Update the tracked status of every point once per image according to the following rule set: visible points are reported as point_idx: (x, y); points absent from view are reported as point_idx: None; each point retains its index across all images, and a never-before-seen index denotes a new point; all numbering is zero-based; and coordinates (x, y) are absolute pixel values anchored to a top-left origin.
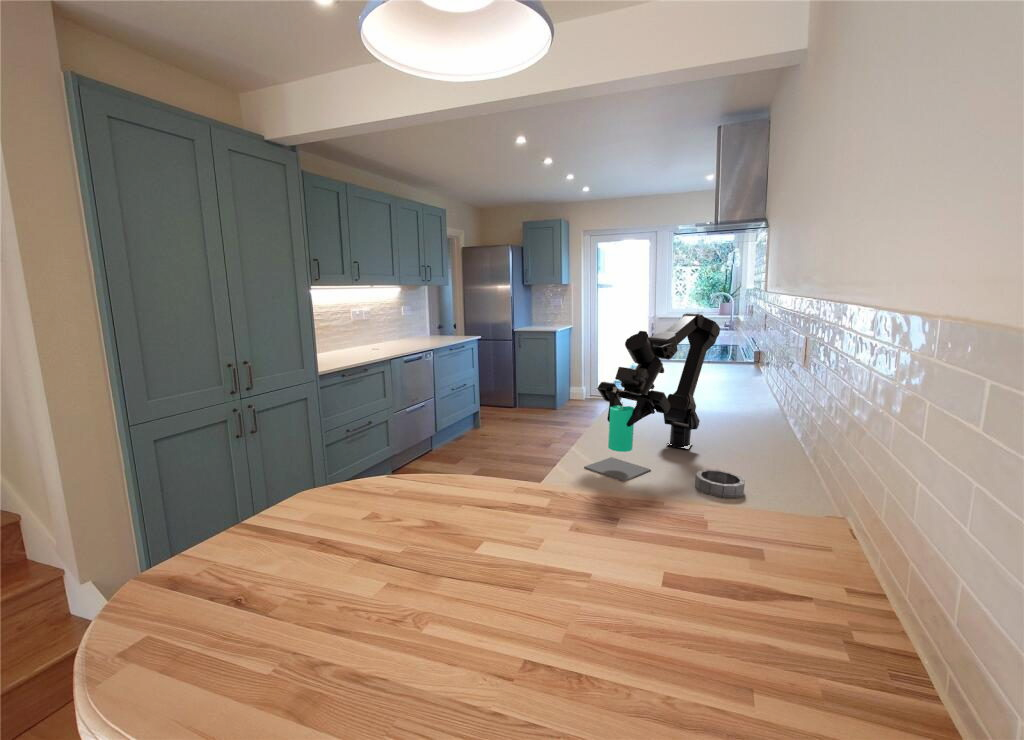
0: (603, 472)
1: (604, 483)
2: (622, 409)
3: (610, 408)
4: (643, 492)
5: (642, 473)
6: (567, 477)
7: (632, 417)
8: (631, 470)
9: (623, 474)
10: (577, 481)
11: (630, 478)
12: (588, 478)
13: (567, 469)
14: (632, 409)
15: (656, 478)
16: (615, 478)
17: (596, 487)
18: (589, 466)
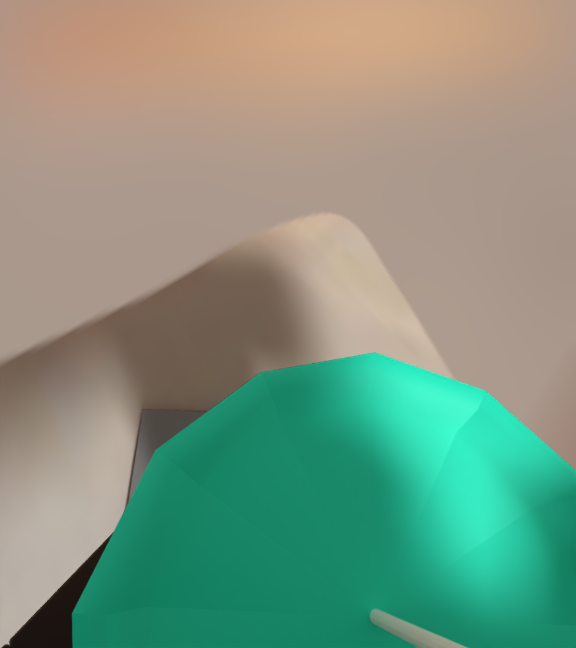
0: None
1: (205, 334)
2: (376, 632)
3: (517, 432)
4: (16, 371)
5: None
6: (345, 282)
7: (89, 558)
8: None
9: None
10: (293, 277)
11: (134, 468)
12: (285, 331)
13: (411, 350)
14: (74, 634)
15: (13, 623)
16: (194, 411)
17: (205, 279)
18: None
